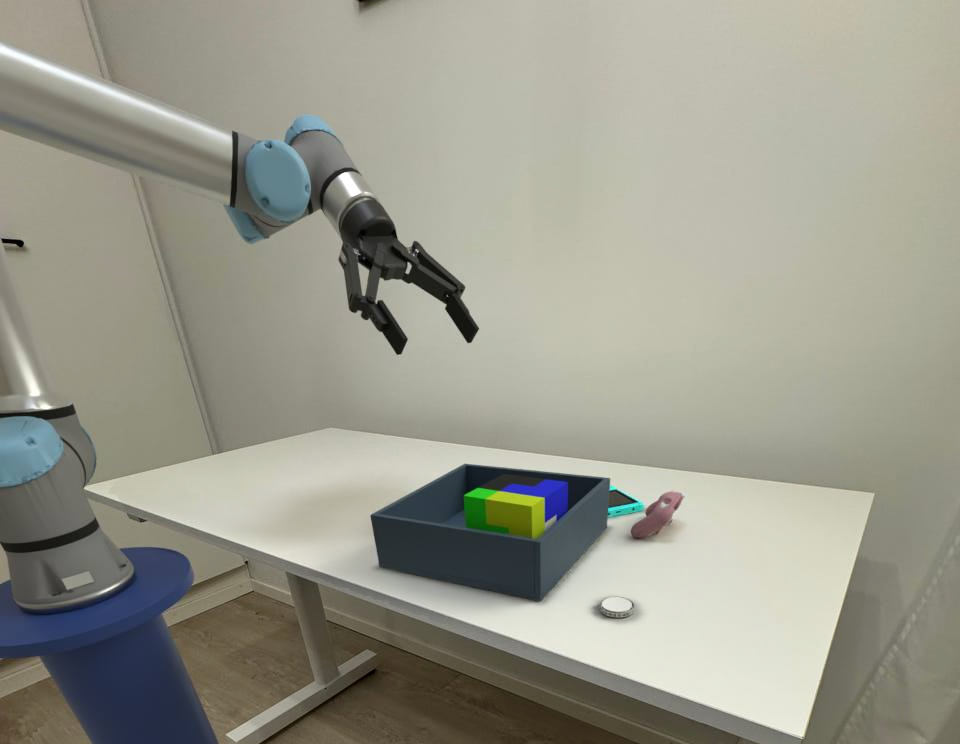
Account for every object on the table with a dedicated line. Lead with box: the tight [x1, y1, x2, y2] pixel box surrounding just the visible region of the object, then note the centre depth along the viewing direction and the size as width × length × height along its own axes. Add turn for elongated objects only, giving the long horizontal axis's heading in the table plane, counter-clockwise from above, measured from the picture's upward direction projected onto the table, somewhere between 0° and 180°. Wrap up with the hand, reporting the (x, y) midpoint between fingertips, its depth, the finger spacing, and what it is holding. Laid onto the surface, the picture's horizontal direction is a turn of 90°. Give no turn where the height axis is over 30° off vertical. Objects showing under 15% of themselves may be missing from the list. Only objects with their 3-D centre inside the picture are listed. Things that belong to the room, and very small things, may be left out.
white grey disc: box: [599, 596, 635, 618], centre depth 66 cm, size 4×4×1 cm
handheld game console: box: [608, 484, 645, 518], centre depth 98 cm, size 10×16×1 cm, turn 19°
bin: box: [370, 463, 611, 602], centre depth 82 cm, size 26×26×8 cm
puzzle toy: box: [464, 474, 568, 539], centre depth 75 cm, size 10×10×10 cm
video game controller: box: [630, 489, 685, 539], centre depth 84 cm, size 10×5×7 cm, turn 151°
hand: (439, 341), depth 79 cm, fingers open, 13 cm apart
